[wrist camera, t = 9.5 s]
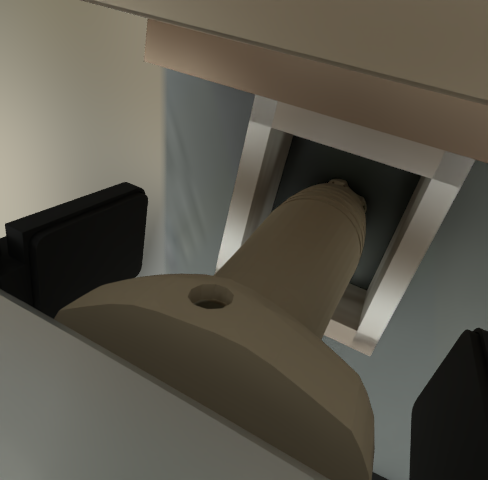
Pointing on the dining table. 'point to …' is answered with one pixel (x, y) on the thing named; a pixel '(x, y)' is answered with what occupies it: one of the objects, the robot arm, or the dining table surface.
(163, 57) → the wooden wall shelf
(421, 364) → the dining table surface
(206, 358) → the handle
